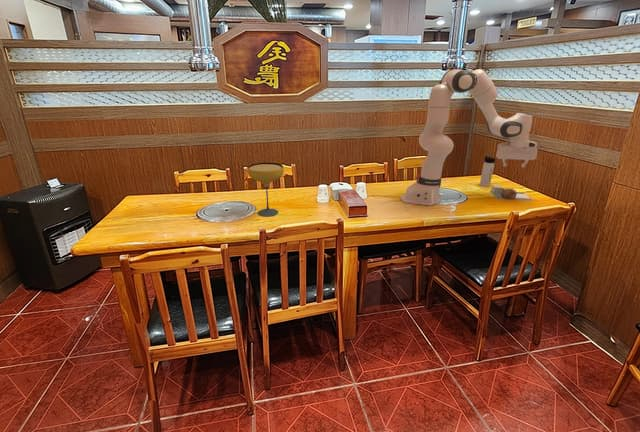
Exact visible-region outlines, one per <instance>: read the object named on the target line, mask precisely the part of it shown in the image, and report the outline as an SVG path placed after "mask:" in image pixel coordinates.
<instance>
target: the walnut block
mask: <svg viewBox="0 0 640 432" xmlns="http://www.w3.org/2000/svg"><path fill="white" fill-rule="evenodd" d="M517 192H518V191H516V190H515V189H513V188H503V189H502V194H501V196H502V197H503V198H504V199H503V200H508V199H516V195H517Z"/></svg>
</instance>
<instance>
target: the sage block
mask: <svg viewBox="0 0 640 432" xmlns="http://www.w3.org/2000/svg"><path fill="white" fill-rule="evenodd" d="M502 189H504V187H503V186H502V185H500V184H499V185H498V184H492V185H491V188H490V191H491V192H492V193H493V194H502ZM491 192H490V193H491ZM492 193H491V194H492ZM493 194H492V195H493Z"/></svg>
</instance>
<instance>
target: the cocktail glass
mask: <svg viewBox="0 0 640 432" xmlns="http://www.w3.org/2000/svg"><path fill="white" fill-rule="evenodd" d="M284 172H285V171H284V166H283V164H280V163H276V162H258V163H253V164H251V165H248V167H247V175H248V176H249V177H250V178H251V179H252V180H254V181H257V182H260V183H261V184H263V186H265V192H266V193H265V194H266V208H263V209H260V210H258V211H257V215H258V216H261V217H265V218H266V217H269V218H270V217H274V216H276V215H278V214H279V210H278V209H276V208H270V207H269V205H270V204H269V194H268V187H269V185H270V184H271V183H273V182H274V181H277V180H278V179H280V178H281V177H282V176H283V175H284Z"/></svg>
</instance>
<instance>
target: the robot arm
mask: <svg viewBox="0 0 640 432" xmlns="http://www.w3.org/2000/svg"><path fill="white" fill-rule="evenodd" d="M468 91H469V92H470V94H471V96H472V98H473V99H474V101H475V102H476V103H477V105H478V108H479V109H480V111H481V113H482V114H483V117H484V119H485V121H486V128H487V131H488V133H489V134H491V135H493V136H498V137H502V138H509V141H508V142H507V141H505V142H503V141H501V142H499V143H498V144H497V147H496V148H497V151H496V154H495V158H496V159H498V160H502V163H503V165H502V167H504V168H505V167H507V165H508V163H506V161H507V160H518V161H519V160H524V162H523V163H521V165H520V167H521V168H525V167H526V165H527V164H528V163H529V161H535V160H536V159H537V156H538V148H537V147H538V143H537V142H535V141H533V140H530V139H529V138H530V135H529V134H530V131H531V129H532V124H533V115H532V114H530V113H526V112H521V111H520V112H519V111H518V112H516V113H515V114H514V115H512V116H510V117H508V118H505V117H501V116H500V115H499V114H498V112H497V111H496V108H495V106H494V104H493V103H494V102H495V101H496V99H497V98H498V90H497V87H496V86H495V84H494V82H493V80H492V79H491V78H490V76H489V75H488V74H487V72H485V71H484V70H483V69H481V68H479V69H475V70H472V71H469V70H467V69H460V68H459V69H456V68H455V69H450V70H447V71H446V72H444V74H443V75H442V77H441V79H440V82H439V83H437V84H436V85H434V86H433V87H432V88H431V90H430V93H429V98H428V105H427V114H426V123H425V125H424V129H423V131H422V133H421V134H420V135H419V138H418V144H419V146H420V147H421V148H422V149H423V150H424V151H427V156H426V158H425V160H423V161H422V164H421V172H420V175H418V174H416V175H415V176H414V177H415V179H416V182H414V183H412V184H411V185H409V186H407V188H406V189H405V192H404V193H402V194H401V195H400V200H401V202H403V203H405V204H413V205H421V206H430V207H431V206H433V205H436V204H440V203H441V199H440V198H441V197H440V196H441V195H440V188H441V186H442V174H443V173H442V172H443V166H444V164H445V163H444V162H445V161H446V158H447V157H448V155H450V154H451V153H452V152H453V150H454V147H455V145H454V142H453V140H452V139H451V138H450V137H449V136H447V135H445V134H443V132H444V131H443V130H444V128H445V126H446V125H447V124H448V122H449V119H450V118H449V117H450V108H451V100H452V97H453V95H454V93H458V94H463V93H466V92H468Z"/></svg>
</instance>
